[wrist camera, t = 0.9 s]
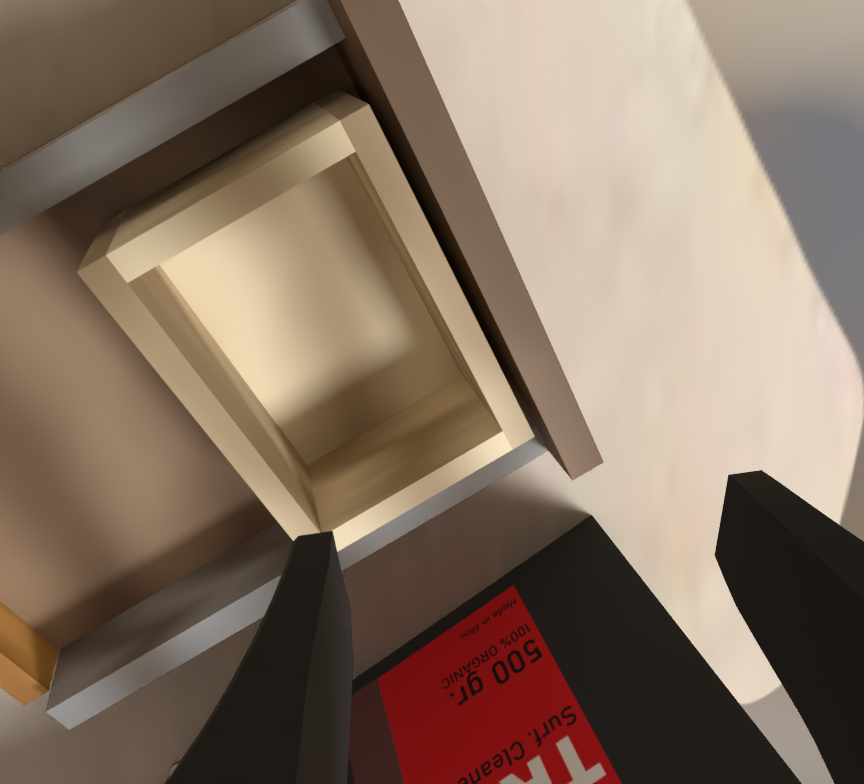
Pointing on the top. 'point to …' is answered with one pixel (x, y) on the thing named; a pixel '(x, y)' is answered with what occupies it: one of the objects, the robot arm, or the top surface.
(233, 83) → the crate bay
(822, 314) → the top surface
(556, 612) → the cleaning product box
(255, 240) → the crate
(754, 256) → the top surface
